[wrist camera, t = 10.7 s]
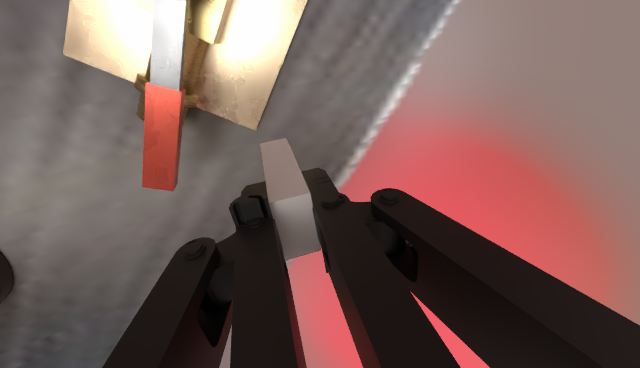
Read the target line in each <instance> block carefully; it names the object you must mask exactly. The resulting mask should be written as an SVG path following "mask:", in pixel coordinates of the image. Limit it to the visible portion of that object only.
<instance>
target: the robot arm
mask: <svg viewBox="0 0 640 368" xmlns="http://www.w3.org/2000/svg"><path fill="white" fill-rule="evenodd" d="M260 148H261V155H262V162H263V168H264V175H265V181H264V182H260V183H256V184H252V185H248V186H246V187H245V188H244V189H243V191H242V192H241V197H239V198H237V199H235V200H234V201H233V202H232V203H231V204H230V206H229V210H230V212H231V215H232V218H233V220H234V223H235V226H236V232H235V233H234V234H233V235H231V236H230V237H228V238H226V239H225V240H222V241H220V242H218V243H215V241H214V240H213V239H211V238H203V237H202V238H198V239H194V240H192V241H190V242H188V243H186V244H185V245H183V246H182V247H181V248H180V249H179V250H178V251H177V252H176V253H175V255H174V256H173V258H172V259H171V261H170V262H169V264H168V266H167V267H166V269H165V270H164V272H163V273H162V275H161V276H160V278H159V280H158V281H157V283H156V284H155V286H154V287H153V289H152V291H151V292H150V294H149V295H148V297H147V298H146V300H145V301H144V303H143V305H142V306H141V308H140V309H139V311H138V312H137V314H136V316H135V317H134V319H133V320H132V322H131V323H130V325H129V326H128V328H127V330H126V331H125V333H124V334H123V336H122V337H121V339H120V340H119V342H118V344H117V345H116V347H115V348H114V350H113V351H112V353H111V355H110V356H109V358H108V359H107V361H106V362H105V364H104V365H103V367H102V368H219V366H220V363H221V359H222V356H223V352H224V349H225V346H226V342H227V339H228V335H229V332H230V328H231V325H232V336H231V360H230V361H231V363H230V368H307V367H306V362H305V357H304V352H303V347H302V341H301V336H300V331H299V326H298V321H297V315H296V310H295V305H294V300H293V295H292V290H291V285H290V279H289V274H288V269H287V266H286V262H285V260H288V259H292V258H295V257H299V256H302V255H306V254H309V253H313V252H316V251H320V250H321V248H322V252H323V257H324V262H325V268H326V273H329V275H330V277H331V280H332V283H333V285H334V288H335V291H336V294H337V297H338V299H339V302H340V305H341V308H342V310H343V313H344V316H345V319H346V321H347V324H348V327H349V330H350V332H351V335H352V338H353V341H354V343H355V346H356V349H357V352H358V354H359V357H360V360H361V363H362V366H363V368H460V366H459V365H458V363H457V362H456V360H455V358H454V357H453V355H452V354H451V353H450V351H449V349H448V348H447V346H446V345H445V343H444V342H443V341H442V339H441V337H440V336H439V334H438V333H437V331H436V330H435V328H434V327H433V326H432V324H431V322H430V321H429V319H428V318H427V316H426V315H425V313H424V312H423V310H422V309H421V307H420V306H419V304H418V303H417V301H416V300H415V298H414V297H413V295H412V294H411V292H412V293H413V294H414V295H415V296H416V297H417V298H418V299H419V300H420V301H421V302H422V303H423V304H424V305H425V306H426V307H427V308H428V309H430V311H432V312H433V313H434V314H435V315H436V316H437V317H438V318H439V319H440V320H441V321H442V322H443V323H444V324H445V325H446V326H447V327H448V328H450V330H451V331H453V333H455V334H456V335H457V336H458V337H459V338H460V339H461V340H462V341H463V342H464V343H465V344H466V345H467V346H468V347H469V348H470V349H471V350H472V351H473V352H474V353H475V354H476V355H478V356H479V357H480V358H481V359H482V360H483V361H484V362H485V363H486V364H487V365H488V366H489V367H490V368H640V325H638V324H636V323H634V322H632V321H631V320H629V319H627V318H625V317H624V316H622V315H620V314H618V313H617V312H615V311H613V310H611V309H610V308H608V307H606V306H604V305H603V304H601V303H599V302H597V301H595V300H594V299H592V298H590V297H588V296H587V295H585V294H583V293H581V292H579V291H578V290H576V289H574V288H572V287H571V286H569V285H567V284H565V283H564V282H562V281H560V280H558V279H557V278H555V277H553V276H551V275H550V274H548V273H546V272H544V271H542V270H541V269H539V268H537V267H535V266H534V265H532V264H530V263H528V262H527V261H525V260H523V259H521V258H520V257H518V256H516V255H514V254H513V253H511V252H509V251H507V250H506V249H504V248H502V247H500V246H499V245H497V244H495V243H493V242H492V241H490V240H488V239H486V238H484V237H483V236H481V235H479V234H477V233H476V232H474V231H472V230H470V229H469V228H467V227H465V226H463V225H461V224H460V223H458V222H456V221H454V220H453V219H451V218H449V217H447V216H446V215H444V214H442V213H440V212H439V211H437V210H435V209H433V208H431V207H430V206H428V205H426V204H425V203H423V202H421V201H419V200H417V199H415V198H414V197H412V196H410V195H409V194H407V193H405V192H403V191H401V190H398V189H392V188H388V189H382V190H378V191H376V192H375V193H373V194H372V196H371V202H351V201H350V200H349V198H348V197H347V196H346V195H344V194H341V193H339V192H338V190H337V189H336V187H335V186H334V184H333V182H332V181H331V179H330V178H329V176H328V175H327V173H326V171H324V170H322V169H320V168H315V169H311V170H307V171H303V172H301V170H300V168H299V166H298V164H297V161H296V159H295V157H294V154H293V152H292V150H291V148H290V145H289V143H288V141H287V138H283V139H278V140H274V141H269V142H265V143H260ZM320 245H321V246H320ZM12 285H13V274H12V271H11V268H10V266H9V264H8V262H7V261H6V259H5V258H4V257H3V256H2V254H1V253H0V303H1V302H2V301H3V299H4V298H5V297H6V296H7V295H8V294H9V292H10V290H11V288H12ZM410 291H411V292H410Z"/></svg>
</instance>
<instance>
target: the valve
mask: <svg viewBox="0 0 640 368" xmlns="http://www.w3.org/2000/svg"><path fill="white" fill-rule="evenodd" d="M306 3H307V0H192V1H189V12H188V24H187V36H186V48H185V60H184V72H183V84H182V88H185V89H186V90H185V102H184V113H183V123H184V120H185V116H186V113H187V110H188V108H195V107H197V108H200V109H202V110H205V111H207V112H210V113H212V114H215V115H217V116H220V117H222V118H225V119H227V120H230V121H232V122H235V123H238V124H240V125H243V126H245V127H248V128H250V129H253V130H255V131H256V128H257V126H258V123H259V121H260V118H261V116H262V113H263V111H264V108H265V106H266V103H267V101H268V98H269V96H270V93H271V91H272V88H273V86H274V83H275V81H276V78H277V76H278V73H279V71H280V68H281V66H282V63H283V60H284V58H285V55H286V53H287V50H288V48H289V45H290V43H291V40H292V38H293V35H294V33H295V30H296V28H297V25H298V23H299V20H300V18H301V15H302V13H303V10H304V8H305V5H306ZM152 18H153V0H70V5H69V13H68V20H67V28H66V36H65V43H64V51H63V55H66V56H68V57H71V58H73V59H76V60H78V61H81V62H83V63H86V64H89V65H91V66H94V67H96V68H99V69H101V70H104V71H106V72H109V73H111V74H114V75H116V76H119V77H121V78H124V79H126V80H129V81H131V82H134V83H135V85H134V86H135V88H136V89H137V90H138V91H140V92H141V95H140V100H139V104H138V108H137V112H136V114H137V116H138V117H139V118H140V119H142V120H143V121H144V119H145V88H146V83H147V82H150V70H151V44H152ZM182 126H183V124H182Z"/></svg>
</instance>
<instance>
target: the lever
mask: <svg viewBox="0 0 640 368" xmlns="http://www.w3.org/2000/svg"><path fill="white" fill-rule="evenodd" d="M189 1H192V0H153V18H152V44H151V70H150V82H147V83H146V88H145V119H144V150H143V181H142V187H146V188H153V189H161V190H168V191H174V189H175V187H176V185H177V181H178V170H179V158H180V147H181V136H182V124H183V113H184V102H185V90H186V89H185V88H182V84H183V72H184V60H185V48H186V36H187V24H188V12H189Z"/></svg>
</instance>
